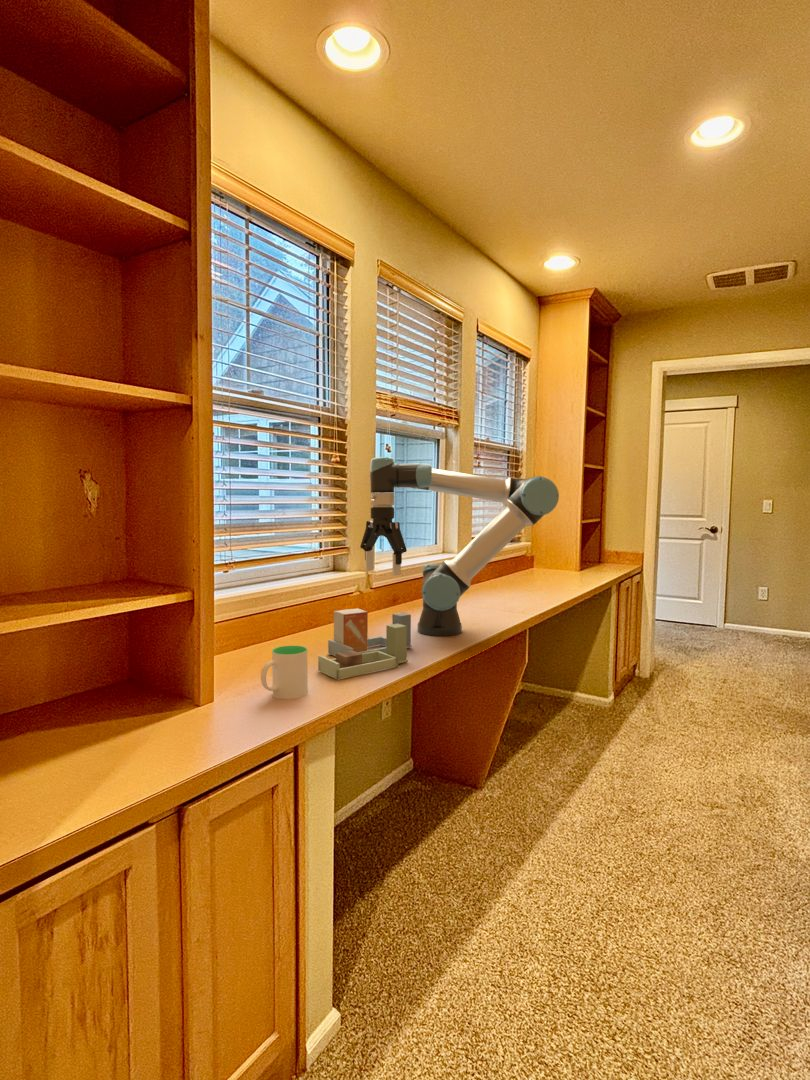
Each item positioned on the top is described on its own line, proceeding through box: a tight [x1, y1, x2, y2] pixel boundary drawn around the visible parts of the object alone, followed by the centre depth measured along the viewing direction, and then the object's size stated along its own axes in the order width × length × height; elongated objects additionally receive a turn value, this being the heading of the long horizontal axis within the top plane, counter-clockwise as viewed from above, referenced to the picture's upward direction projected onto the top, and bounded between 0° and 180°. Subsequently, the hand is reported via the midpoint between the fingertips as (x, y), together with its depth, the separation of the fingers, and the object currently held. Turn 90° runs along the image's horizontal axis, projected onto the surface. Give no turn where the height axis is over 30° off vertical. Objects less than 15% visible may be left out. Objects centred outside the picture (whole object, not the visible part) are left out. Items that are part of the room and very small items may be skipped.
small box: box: [333, 607, 369, 652], centre depth 174 cm, size 8×6×13 cm
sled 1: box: [327, 612, 413, 657], centre depth 176 cm, size 24×13×10 cm, turn 127°
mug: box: [260, 645, 309, 700], centre depth 138 cm, size 12×8×10 cm
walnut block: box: [335, 650, 363, 668], centre depth 157 cm, size 5×5×5 cm
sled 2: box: [317, 623, 409, 680], centre depth 160 cm, size 24×10×10 cm, turn 127°
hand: (382, 572), depth 191 cm, fingers open, 13 cm apart
